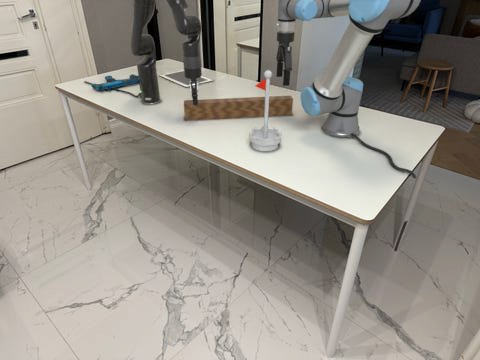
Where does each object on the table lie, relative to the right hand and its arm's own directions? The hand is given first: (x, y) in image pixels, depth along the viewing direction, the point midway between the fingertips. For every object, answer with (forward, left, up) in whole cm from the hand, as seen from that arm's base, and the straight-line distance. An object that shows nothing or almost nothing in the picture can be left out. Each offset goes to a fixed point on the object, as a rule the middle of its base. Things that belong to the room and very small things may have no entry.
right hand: (282, 80), depth 157 cm
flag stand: (-26, +23, -16) cm, 38 cm away
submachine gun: (+85, +63, -16) cm, 107 cm away
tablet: (+77, +24, -16) cm, 82 cm away
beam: (+6, +20, -16) cm, 26 cm away
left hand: (+12, +39, -8) cm, 42 cm away
